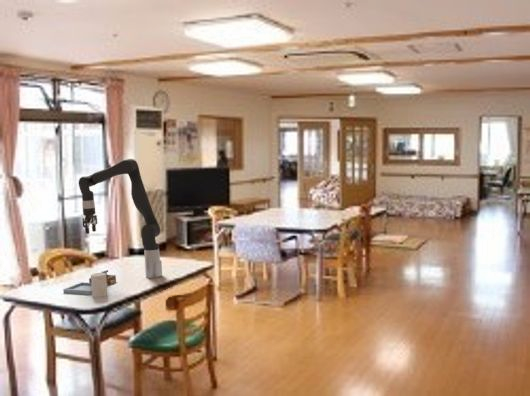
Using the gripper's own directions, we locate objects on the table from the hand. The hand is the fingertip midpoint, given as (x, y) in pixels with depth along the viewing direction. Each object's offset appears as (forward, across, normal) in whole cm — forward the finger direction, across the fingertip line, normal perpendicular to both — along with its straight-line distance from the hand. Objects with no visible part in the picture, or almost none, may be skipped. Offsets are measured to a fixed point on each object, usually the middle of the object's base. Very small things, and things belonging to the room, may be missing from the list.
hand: (90, 232), depth 376 cm
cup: (+28, -48, -29) cm, 63 cm away
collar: (+28, -22, -17) cm, 39 cm away
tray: (+28, -37, -15) cm, 49 cm away
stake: (+28, -22, -19) cm, 40 cm away
